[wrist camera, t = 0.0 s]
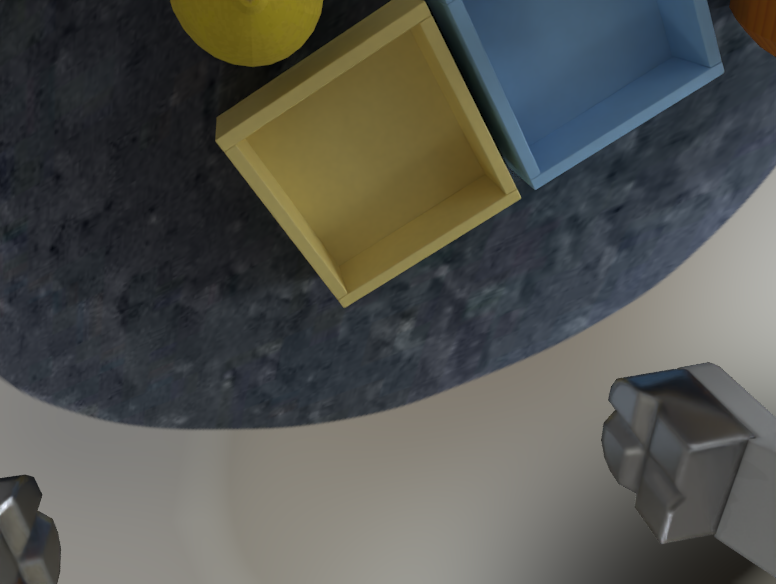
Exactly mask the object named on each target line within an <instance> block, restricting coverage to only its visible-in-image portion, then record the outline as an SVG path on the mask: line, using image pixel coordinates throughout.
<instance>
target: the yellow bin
mask: <svg viewBox="0 0 776 584" xmlns="http://www.w3.org/2000/svg"><path fill="white" fill-rule="evenodd" d="M215 141H216V142H217V144H218V145H219V146H220V148H221V149H222V150H223V151H225V154H226V155H227V157H228V158H229V159H230V161H231V162H232V163H233V165H234V166H235V167H236V168H237V170H238V171H239V172H240V174H241V175H242V176H243V178H244V179H245V180H246V181H247V183H248V184H249V185H250V187H251V188H252V189H253V191H254V192H255V193H256V194H257V196H258V197H259V198H260V200H261V201H262V202H263V204H264V205H265V206H266V207H267V209H268V210H269V211H270V213H271V214H272V215H273V217H274V218H275V219H276V220H277V222H278V223H279V224H280V226H281V227H282V228H283V230H284V231H285V232H286V233H287V235H288V236H289V237H290V239H291V240H292V241H293V243H294V244H295V245H296V246H297V248H298V249H299V250H300V252H301V253H302V254H303V256H304V257H305V258H306V259H307V261H308V262H309V263H310V265H311V266H312V267H313V269H314V270H315V271H316V272H317V274H318V275H319V276H320V278H321V279H322V280H323V282H324V283H325V284H326V285H327V287H328V288H329V289H330V291H331V292H332V293H333V295H334V296H335V297H336V298H337V299H338V301H339V302H340V304H341V305H342V306H343V307H344V308H345V307H347V306H349V305H350V304H352V303H353V302H355V301H357V300H358V299H360V298H361V297H363V296H365V295H366V294H368V293H370V292H371V291H373V290H374V289H376V288H378V287H379V286H381V285H382V284H384V283H386V282H387V281H389V280H391V279H392V278H394V277H395V276H397V275H399V274H400V273H402V272H403V271H405V270H407V269H408V268H410V267H411V266H413V265H415V264H416V263H418V262H420V261H421V260H423V259H424V258H426V257H428V256H429V255H431V254H432V253H434V252H436V251H437V250H439V249H441V248H442V247H444V246H445V245H447V244H449V243H450V242H452V241H453V240H455V239H457V238H458V237H460V236H461V235H463V234H465V233H466V232H468V231H470V230H471V229H473V228H474V227H476V226H478V225H479V224H481V223H482V222H484V221H486V220H487V219H489V218H491V217H492V216H494V215H495V214H497V213H499V212H500V211H502V210H503V209H505V208H507V207H508V206H510V205H511V204H513V203H515V202H516V201H518V200H520V199H521V196H520V194H519V192H518V190H517V189H516V186H515V184H514V182H513V180H512V178H511V176H510V174H509V172H508V170H507V167H506V165H505V163H504V161H503V159H502V157H501V155H500V153H499V151H498V149H497V147H496V145H495V143H494V141H493V139H492V137H491V135H490V133H489V131H488V129H487V127H486V125H485V123H484V121H483V119H482V117H481V114H480V112H479V110H478V108H477V106H476V104H475V102H474V100H473V98H472V96H471V94H470V92H469V90H468V88H467V86H466V84H465V82H464V80H463V78H462V76H461V74H460V72H459V70H458V68H457V66H456V64H455V61H454V59H453V57H452V55H451V53H450V51H449V49H448V47H447V45H446V43H445V41H444V39H443V37H442V35H441V33H440V31H439V29H438V27H437V25H436V23H435V21H434V19H433V17H432V16H431V12H430V10H429V8H428V6H427V4H426V2H425V1H423V0H391V1H390V2H388V3H387V4H385V5H384V6H382V7H381V8H379V9H378V10H376V11H375V12H373V13H372V14H370V15H369V16H367V17H366V18H364V19H363V20H361V21H360V22H358V23H357V24H355V25H354V26H353V27H351V28H350V29H348V30H347V31H345V32H344V33H342V34H341V35H339V36H338V37H336V38H335V39H333V40H332V41H330V42H329V43H327V44H326V45H324V46H323V47H321V48H320V49H318V50H317V51H315V52H314V53H312V54H311V55H309V56H308V57H306V58H305V59H303V60H302V61H300V62H299V63H297V64H296V65H294V66H293V67H291V68H290V69H288V70H287V71H285V72H284V73H282V74H281V75H279V76H278V77H276V78H275V79H273V80H272V81H270V82H269V83H267V84H266V85H264V86H263V87H261V88H260V89H258V90H257V91H255V92H254V93H252V94H251V95H249V96H248V97H246V98H245V99H243V100H242V101H240V102H239V103H237V104H236V105H234V106H233V107H231V108H230V109H228V110H227V111H225V112H224V113H222V114H221V115H219V116H218V117H217V122H216V138H215Z"/></svg>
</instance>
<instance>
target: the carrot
mask: <svg viewBox="0 0 776 584" xmlns="http://www.w3.org/2000/svg"><path fill="white" fill-rule="evenodd" d="M729 7H730V9H731V11H732V13H733V15H734V16H735V18H736V20H737V21H738V22H739V23H740V25H741V26H742V27H743V28H744V30H745V31H746V32H747V33H748V34H749V35H750V36H751V37H752V39H753V40H754V41H755V42H756V43H757V44H758V45H759V46H760V47H761V48H763V49H764V50H766V51H767V52H769V53H770V54H772V55H774V56H775V57H776V0H730V6H729Z"/></svg>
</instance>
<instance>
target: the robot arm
mask: <svg viewBox="0 0 776 584" xmlns="http://www.w3.org/2000/svg"><path fill="white" fill-rule="evenodd" d="M608 400H609V402H610V403H611V404H612V406H613V407H614V409H615V411H614V412H613V413H612V414H611V415H610V416H609V418H608V419H607V420H606V421H605V422H604V425H603V431H602V439H601V441H602V447H603V452H604V458H605V460H606V463H607V465H608V467H609V470H610V472H611V473H612V475H613V476H614V478H615V479H616V481H617V482H618V484H620V485H622V486H623V487H625V488H627V489H629V490H631V491H633V492H635V493H636V500H635V508H636V510H637V511H638V513H639V514H640V515H641V517H642V518H643V520H644V521H645V522H646V524H647V525H648V527H649V528H650V530H651V531H652V533H653V534H654V535H655V537H656V538H657V540H658V541H659V543H660V544H662V543H668V542H673V541H679V540H684V539H690V538H695V537H701V536H706V535H712V534H716V535H715V538H717V539H719V540H720V541H721V542H723V543H725V544H726V545H727V546H729V547H730V548H732V549H733V550H735V551H736V552H738V553H739V554H741V555H742V556H744V557H745V558H747V559H748V560H750V561H751V562H753V563H754V564H756V565H757V566H759V567H760V568H762V569H763V570H765V571H766V572H768V573H769V574H771V575H772V576H774V577H775V578H776V417H775V416H774V415H773V414H771V413H770V412H769V411H768V410H767V409H766V408H765V407H764V406H762V405H761V404H760V403H759V402H758V401H757V400H756V399H755V398H754V397H752V396H751V395H750V394H749V393H748V392H747V391H746V390H745V389H744V388H743V387H742V386H740V385H739V384H738V383H737V382H736V381H735V380H734V379H733V378H732V377H730V376H729V375H728V374H727V373H726V372H725V371H724V370H723V369H722V368H721V367H719V366H717V365H715V364H712V363H710V362H707V363H702V364H696V365H691V366H685V367H680V368H677V369H671V370H665V371H659V372H654V373H647V374H641V375H636V376H630V377H624V378H618V379H616V380H615V382H614V383H613V385H612V386H611V390H610V394H609V399H608ZM41 498H42V493H41V491H40V489H39V487H38V485H37V483H36V481H35V479H34V477H32V476H28V475H19V476H12V477H5V478H0V584H57V582H58V578H59V574H60V560H61V546H60V541H59V536H58V531H57V529H56V526H55V524H54V521H53V519H52V518H50V517H48V516H47V515H45V514H43V513H41V512H39V511H38V507H39V504H40V501H41Z"/></svg>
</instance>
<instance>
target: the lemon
mask: <svg viewBox="0 0 776 584" xmlns="http://www.w3.org/2000/svg"><path fill="white" fill-rule="evenodd" d="M170 2H171V5H172V9H173V11H174V13H175V15H176V16H177V18H178V20H179V22H180V23H181V25H182V27H183V29H184V30H185V31H186V32H187V34H188V35H189V36H190V37H191V38H192V39H193V40H194V41H195V42H196V44H197V45H198V46H200V47H201V48H203V49H204V50H205V51H207V52H208V53H210V54H211V55H213V56H214V57H216V58H218V59H221V60H223V61H226V62H229V63H231V64H234V65H242V66H249V67H255V66H263V65H271V64H273V63H275V62H278V61H280V60H283V59H285V58H287V57H289V56H290V55H291V54H293V53H294V52H295V51H296V50H298V49H299V48H300V47H302V45H303V44H304V43H305V42H306V40H307V39H308V38H309V36H310V35H311V34H312V33H313V31H314V29H315V26H316V24H317V22H318V19H319V17H320V15H321V10H322V4H323V0H170Z"/></svg>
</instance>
